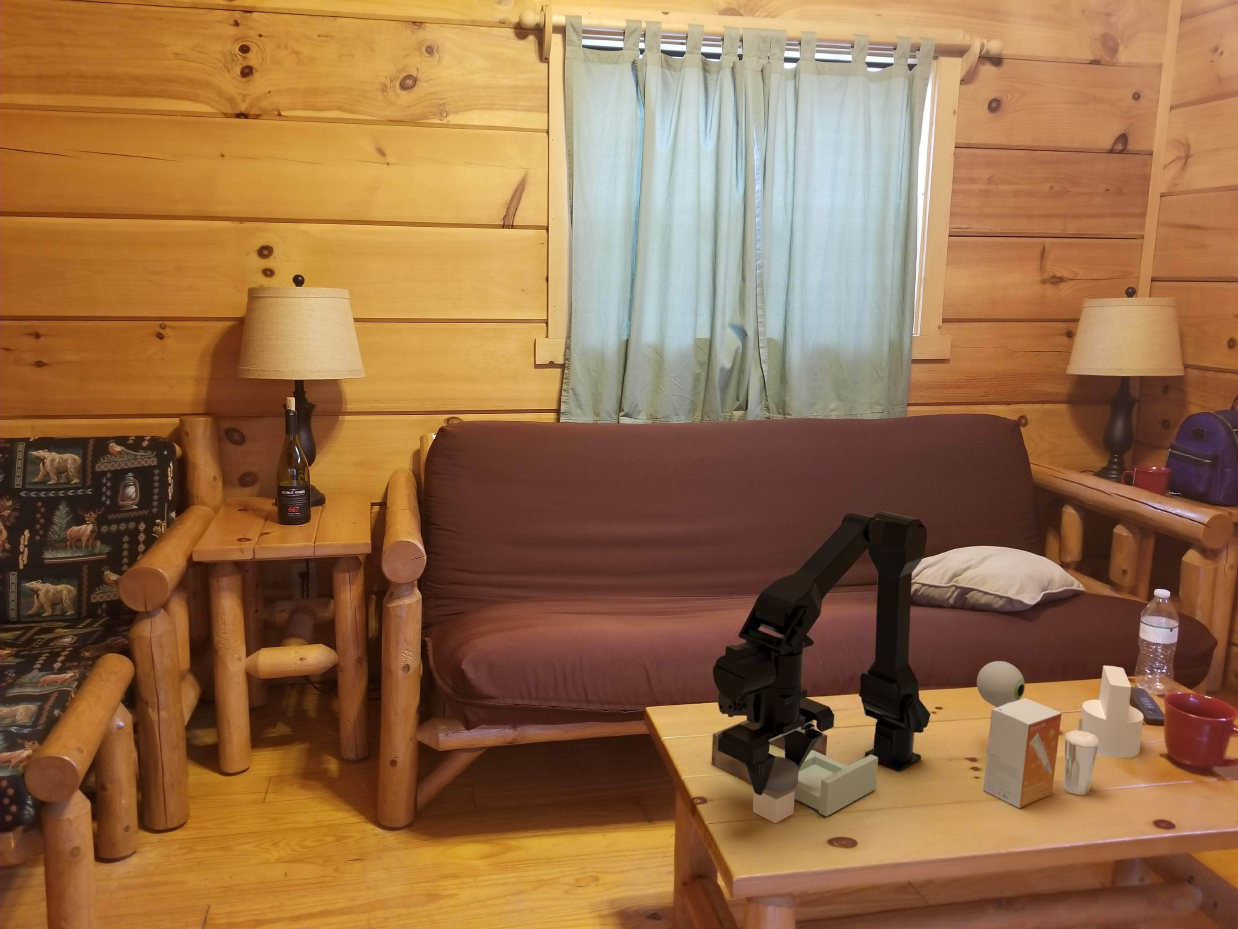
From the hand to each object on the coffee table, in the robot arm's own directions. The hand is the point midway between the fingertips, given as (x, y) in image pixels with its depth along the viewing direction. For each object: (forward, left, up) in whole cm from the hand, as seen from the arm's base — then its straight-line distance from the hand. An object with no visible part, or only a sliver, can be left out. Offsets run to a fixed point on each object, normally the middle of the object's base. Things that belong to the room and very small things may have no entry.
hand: (774, 786), depth 138 cm
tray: (-11, 0, -4) cm, 11 cm away
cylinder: (0, 0, +1) cm, 1 cm away
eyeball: (-43, +11, -4) cm, 44 cm away
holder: (-11, -10, -4) cm, 15 cm away
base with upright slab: (-60, +22, -4) cm, 64 cm away
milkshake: (-41, +25, -4) cm, 48 cm away
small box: (-33, +20, -4) cm, 38 cm away
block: (0, 0, -4) cm, 4 cm away
